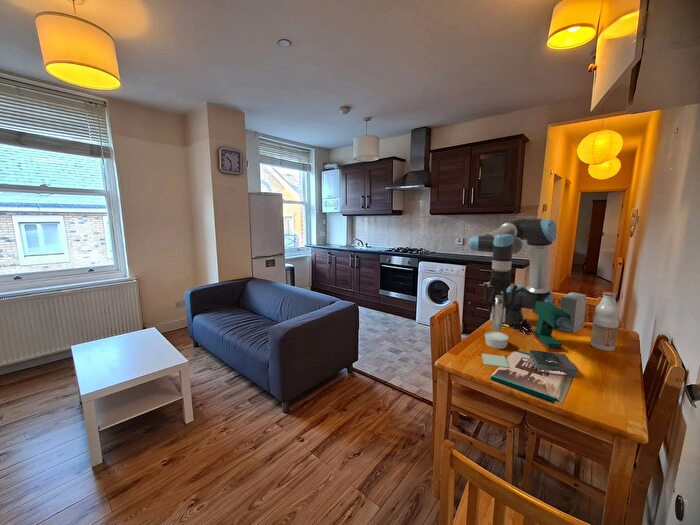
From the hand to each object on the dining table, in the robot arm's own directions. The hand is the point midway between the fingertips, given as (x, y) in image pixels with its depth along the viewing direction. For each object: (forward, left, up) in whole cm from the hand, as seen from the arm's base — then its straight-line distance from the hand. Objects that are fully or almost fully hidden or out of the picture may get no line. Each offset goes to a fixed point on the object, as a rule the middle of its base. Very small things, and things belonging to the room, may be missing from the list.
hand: (497, 320), depth 131 cm
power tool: (-21, +29, -20) cm, 41 cm away
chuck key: (0, 0, -4) cm, 4 cm away
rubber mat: (0, 0, -20) cm, 20 cm away
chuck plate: (-2, +23, -20) cm, 30 cm away
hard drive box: (-54, +47, -20) cm, 74 cm away
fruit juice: (-31, +53, -20) cm, 65 cm away
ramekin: (-18, +3, -20) cm, 27 cm away
